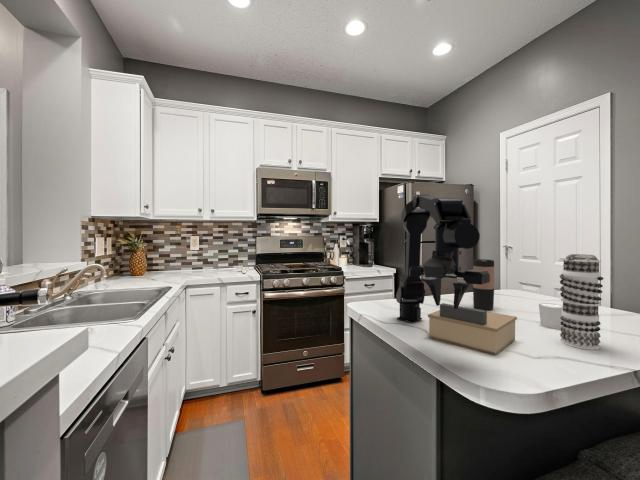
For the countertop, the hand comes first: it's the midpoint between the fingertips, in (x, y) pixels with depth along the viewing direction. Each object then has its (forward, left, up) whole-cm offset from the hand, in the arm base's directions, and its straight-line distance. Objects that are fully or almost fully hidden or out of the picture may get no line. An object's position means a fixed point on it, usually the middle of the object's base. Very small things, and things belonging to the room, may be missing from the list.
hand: (446, 307), depth 78 cm
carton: (0, +16, -12) cm, 20 cm away
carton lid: (0, +16, -6) cm, 17 cm away
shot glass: (+13, +48, -12) cm, 51 cm away
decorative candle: (+22, +34, -12) cm, 42 cm away
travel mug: (-11, +56, -12) cm, 58 cm away
